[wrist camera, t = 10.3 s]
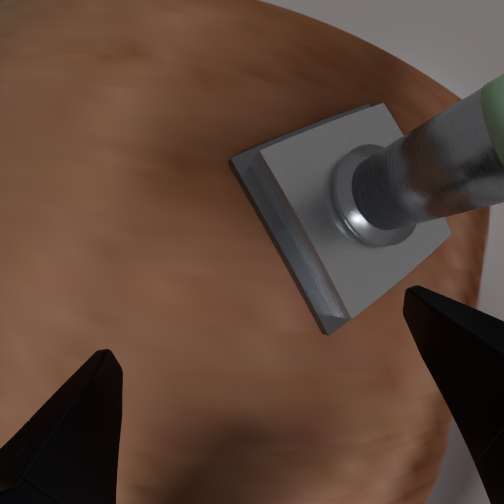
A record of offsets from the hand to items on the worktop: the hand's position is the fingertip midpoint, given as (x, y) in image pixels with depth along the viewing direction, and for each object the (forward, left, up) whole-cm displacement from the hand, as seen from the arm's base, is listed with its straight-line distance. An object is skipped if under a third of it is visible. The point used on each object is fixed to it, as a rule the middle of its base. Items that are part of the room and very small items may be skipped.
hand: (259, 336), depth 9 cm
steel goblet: (+1, -13, -9) cm, 16 cm away
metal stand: (+1, -13, -12) cm, 18 cm away
